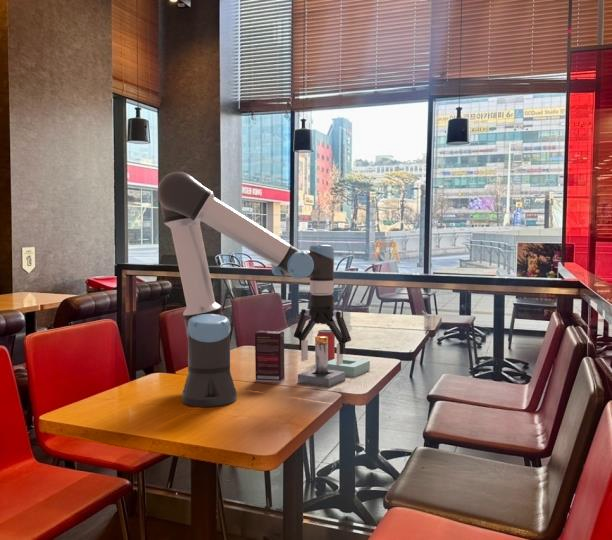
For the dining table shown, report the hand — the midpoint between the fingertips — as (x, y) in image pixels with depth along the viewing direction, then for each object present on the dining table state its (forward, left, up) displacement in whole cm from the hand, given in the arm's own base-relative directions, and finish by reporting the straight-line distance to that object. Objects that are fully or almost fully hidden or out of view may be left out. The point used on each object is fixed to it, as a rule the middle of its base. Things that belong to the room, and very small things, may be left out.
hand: (321, 362), depth 184 cm
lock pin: (0, 0, -6) cm, 6 cm away
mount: (0, 0, -6) cm, 6 cm away
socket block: (+17, 0, -6) cm, 18 cm away
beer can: (+26, +13, -7) cm, 30 cm away
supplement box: (-7, +15, -7) cm, 18 cm away
